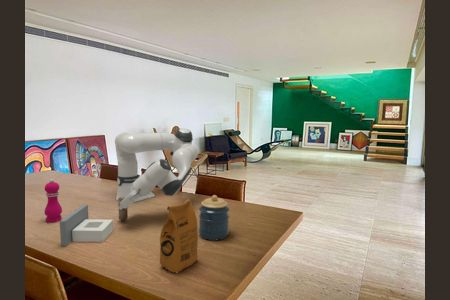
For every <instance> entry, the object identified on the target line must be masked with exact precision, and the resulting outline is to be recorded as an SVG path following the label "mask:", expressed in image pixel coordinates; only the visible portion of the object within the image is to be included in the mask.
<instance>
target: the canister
mask: <svg viewBox="0 0 450 300" xmlns="http://www.w3.org/2000/svg"><path fill="white" fill-rule="evenodd" d="M228 205H229V204H228V202H227V200H224V199H223V198H221V197H218V196H217V195H216V194H213V195H212V196H211V197H209V198H205V199H204V200H202V201H201V205H200V206H199V211H200V213H199V216H198V218H199V220H198V221H199V225H198V234H200V235H199V236H200V238H202V239H204V238H205V239H204V240H206V239H210V240H209V241H217V240H216V239H221V240H223V239H222V238H224V239H226V238H227V237H228V236H227V235H229V232H230V229H229V219H230V215H229V211H230V208H229V206H228ZM226 236H227V237H226ZM225 237H226V238H225Z"/></svg>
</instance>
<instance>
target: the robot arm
mask: <svg viewBox="0 0 450 300" xmlns="http://www.w3.org/2000/svg"><path fill="white" fill-rule="evenodd" d="M114 144H115V152H116V160H117V175H116V176H117V179H116V180H117V181H116V183H117V193H116V197H115V200H116V201H118V198H120V197H126V198H125V199H123V200H122V201H121V203H120V206H118V207H117V209H118V210H119V209H120V210H122V209H123V208H125V209H126V208H127V209H128V208H129V206H130V205H131V204H132V203H135V202H140V201H143V200H148V199H151V198H154V197H155V194H154V193H153V192H152V191H153V190H154V189H155V188H156V186H157V187H158V188H159V189H160V190H161V192H162V193H163V194H164V195H165V196H166V197H167V196H168V197H173V196H175V195H177V193H178V192H179V191H180V189H181V188H182V186H183V184H184V182H185V181H186V179H187V178H188V177H189V175H190V173H191V171H192V167H191V165H192V163H193V162H195V160H196V159H197V157H198V155H199V150H198V148H197V147H196V146H195V145H193V133H192V131H191V130H190V129H187V128H178V129H177V130H176V132H175V134H174V133H170V132H144V133H143V132H142V133H127V132H120V133H119V134H117V135H116V136H115V139H114ZM164 150H168V151H170V152H169V154H170V156H171V161H172V164H173V166H174V168H175V169H176V171H177V173H178V175H177V176H176V175H175V174H174V173H173V172H172V167H171V165H170V163H169V162H168V161H167V160H166V159H161V158H160V159H158V160H156V161H153V162H152V163H151V164H149V165H148V167H147V168H146V170H145V171H144V173H142V174H141V175H140V174H139V171H138V169H139V167H138V160H137V155H136V154H138V153H144V152H151V151H153V152H154V151H156V152H157V151H164Z"/></svg>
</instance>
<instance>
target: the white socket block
mask: <svg viewBox="0 0 450 300" xmlns="http://www.w3.org/2000/svg"><path fill="white" fill-rule="evenodd" d="M113 231H114V219H96V218H95V219H93V218H92V219H91V218H88V219H85V220H84V221H83V222H82V223H81V224H79V225H78V226H77V227H76V228H74V229H73V230H72V238H73V240H72V242H75V243H77V242H78V243H79V242H80V243H81V242H84V243H85V242H86V243H88V242H89V243H92V242H93V243H103V242H104V241H105V240H106V239H107V238H108V237H109V236H110V235H111V233H112V232H113Z"/></svg>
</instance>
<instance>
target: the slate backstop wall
mask: <svg viewBox="0 0 450 300" xmlns="http://www.w3.org/2000/svg"><path fill="white" fill-rule="evenodd" d="M85 219H89V204H82V205H81V206H79V207H78V208H77V209H75V210H74V211H73V212H71V213H70V214H68V215H66V216H65V217H64V218H63V219H62V218H61V220H60V221H59V229H60V230H59V231H60V232H59V233H60V246H61V247H67V246H68V245H69V244H70V243H71V242H73V238H72V230H73V229H74V228H76V227H77V226H78V225H79V224H81V223H82V222H83V221H84V220H85Z"/></svg>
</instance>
